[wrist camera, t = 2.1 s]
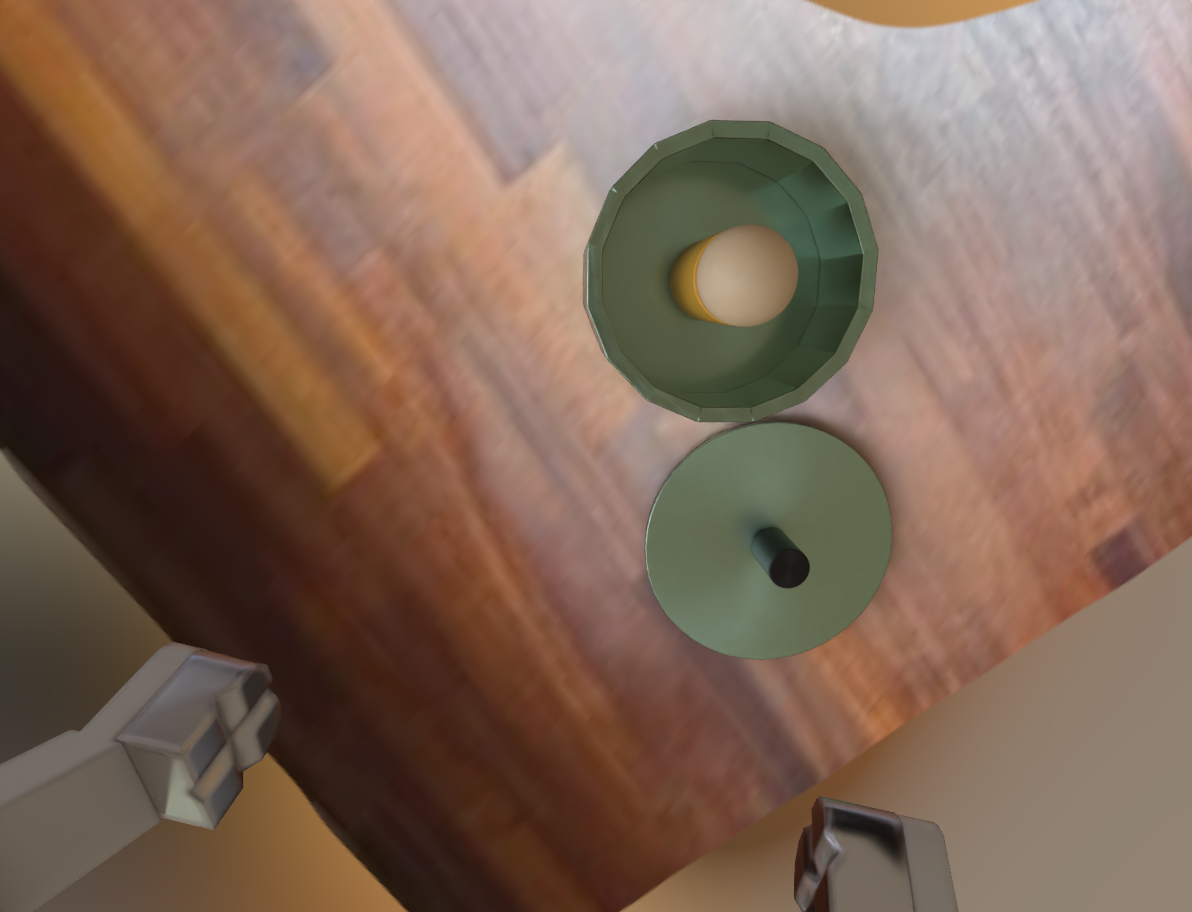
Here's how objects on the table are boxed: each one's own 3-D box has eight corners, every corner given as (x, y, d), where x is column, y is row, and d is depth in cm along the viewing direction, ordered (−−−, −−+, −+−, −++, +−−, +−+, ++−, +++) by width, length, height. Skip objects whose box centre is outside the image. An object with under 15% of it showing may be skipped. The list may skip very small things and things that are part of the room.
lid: (606, 475, 44) (612, 498, 39) (843, 381, 44) (879, 391, 39) (692, 685, 48) (707, 730, 43) (913, 600, 47) (955, 636, 42)
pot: (544, 207, 41) (541, 190, 34) (784, 107, 40) (826, 71, 34) (636, 440, 44) (648, 464, 37) (859, 350, 43) (911, 359, 37)
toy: (657, 258, 41) (692, 243, 30) (732, 227, 41) (793, 202, 30) (685, 333, 42) (727, 345, 31) (758, 303, 42) (826, 305, 31)
